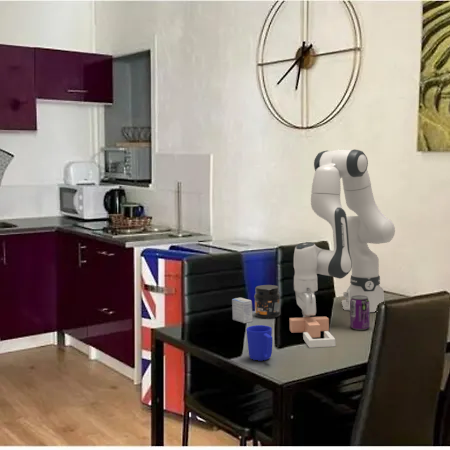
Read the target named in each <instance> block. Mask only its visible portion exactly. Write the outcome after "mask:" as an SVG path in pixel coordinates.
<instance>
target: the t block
mask: <svg viewBox="0 0 450 450" xmlns="http://www.w3.org/2000/svg"><path fill="white" fill-rule="evenodd" d="M288 321H289V331H290V332H291V333H293V334H294V333H303V332H308V334H309V335H310V336H311V337H312V339H318V338H321V332H324V331H330V318H329V317H327V316H310V317H303V316H302V317H289V320H288Z"/></svg>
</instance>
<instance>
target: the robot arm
mask: <svg viewBox="0 0 450 450" xmlns="http://www.w3.org/2000/svg"><path fill="white" fill-rule="evenodd" d="M368 162H369V160H368V157H367V156H366V154H365V152H364V151H363V150H359V149H345V148H344V149H343V148H342V149H333V150H323V151H319V153H318V154H316V156H315V158H314V160H313V168H314V175H313V179H312V184H311V191H310V192H311V194H310V196H311V197H310V205H311V209H312V211H313V212H314V213H315V214H316V215H317V216H318V217H320V218H321V219H323V220H325V221H326V222H327V223H328V224H329V225H330V226H331V229H332V239H333V250H330V249H324V248H320V247H318V246H317V245H316V244H315V243H314V242H312V241H306V242H301V243H298V244H297V245H296V246H295V247H294V253H293V268H294V275H293V291H294V292H295V300H296V305H297V306H298V307H299V308H300V309H301V313H302V318H303V317H311V316H316V314H317V303H316V302H317V301H316V295H315V292H317V291H318V289H319V288H318V275H322V276H328V277H332V278H335V279H339V280H340V279H343V278H345V277H346V276H348V274H350V272H351V275H350V281H349V283H350V284H349V286H348V288H347V289H346V291H343V294H342V295H343V298H345V299H342V300H341V302H342V303H341V307H342V306H343V307H342V309H344V311H350V301H351V297H352V296H355V295H363V296H367V297H368V300H369V309H370V313H374V312H375V311H376V307H377V305H378V304H379V303H381V302H383V301H384V302H385V297H384V296H385V294H384V293H385V292H384V288H382V287H381V285H380V284H381V277H380V273H379V272H380V271H379V268H380V264H379V263H380V261H379V257H378V255H377V254H376V253H375V252H373V251H372V250H371V248H370V247H369V245H368V244H375V245H377V244H378V245H380V244H385V243H387V244H388V243H390V242H391V241H392V240H393V238H394V236H395V233H396V227H395V224H394V223H393V221H392V220H391V219H389V218H388V217H386V215H384V214H383V212H382V211H381V210H380V209H379V206H378V205H377V203H376V201H375V197H374V194H373V193H374V192H373V189H372V188H373V187H372V183H371V178H370V174H369V171H368V166H369V163H368ZM341 180H342V188H341ZM341 189H343V194H344V198H345V204H346V206H347V208H348V209H349V210H351V211H352V212H354V213H355V214H356V215H350V216H347V214H346V211H345V210H344V209H343V207H342V203H341ZM375 313H376V312H375Z"/></svg>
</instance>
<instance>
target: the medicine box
mask: <svg viewBox="0 0 450 450" xmlns="http://www.w3.org/2000/svg"><path fill="white" fill-rule="evenodd" d="M231 305H232V306H231V308H232V310H231V311H232V320H233V321H236V322H240V323H242V324H247V323H252V322H253V301H252V300H251V299H247V298H244V297H235V298H232V299H231Z"/></svg>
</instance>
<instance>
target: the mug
mask: <svg viewBox="0 0 450 450" xmlns="http://www.w3.org/2000/svg"><path fill="white" fill-rule="evenodd" d="M272 330H273V329H272V327H271V326H269V325H265V324H263V325H262V324H261V325H260V324H259V325H256V324H255V325H251V326H248V327H247V328H246V339H247V348H248V349H247V351H248V356H249V359H251V360H252V359H253V360H252V361H255V360H258V362H263V360H264V361H267V360H269V359H271V357H272V353H273V336H272V334H273V331H272Z"/></svg>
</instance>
